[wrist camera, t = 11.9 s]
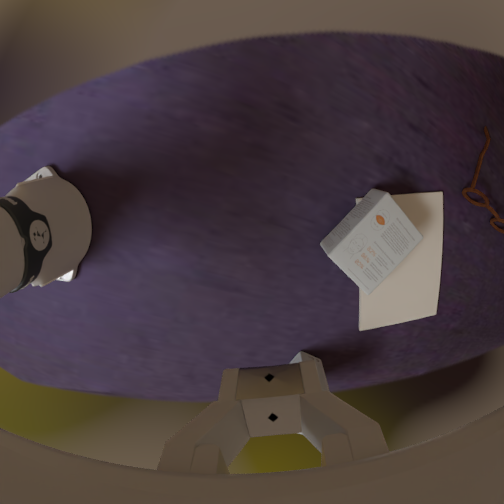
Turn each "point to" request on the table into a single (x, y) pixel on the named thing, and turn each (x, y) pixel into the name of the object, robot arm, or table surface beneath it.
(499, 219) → the glasses
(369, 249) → the small box
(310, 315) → the table surface
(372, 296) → the felt mat
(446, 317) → the table surface
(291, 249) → the table surface
